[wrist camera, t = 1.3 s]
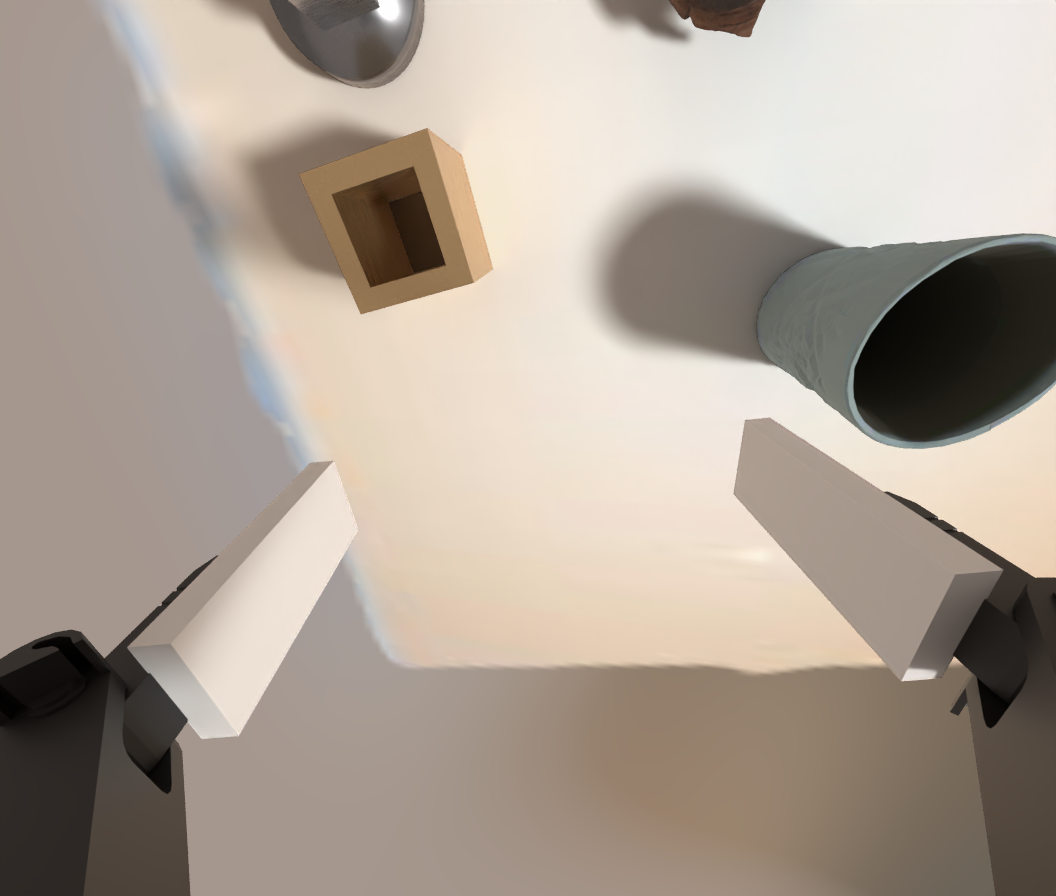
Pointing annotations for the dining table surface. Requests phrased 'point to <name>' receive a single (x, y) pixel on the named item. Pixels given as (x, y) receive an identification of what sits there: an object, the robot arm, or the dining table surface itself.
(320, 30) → the grey handled bowl
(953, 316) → the grey green cup
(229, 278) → the dining table surface
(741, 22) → the ring-shaped clay flask
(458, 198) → the hollow square tube
